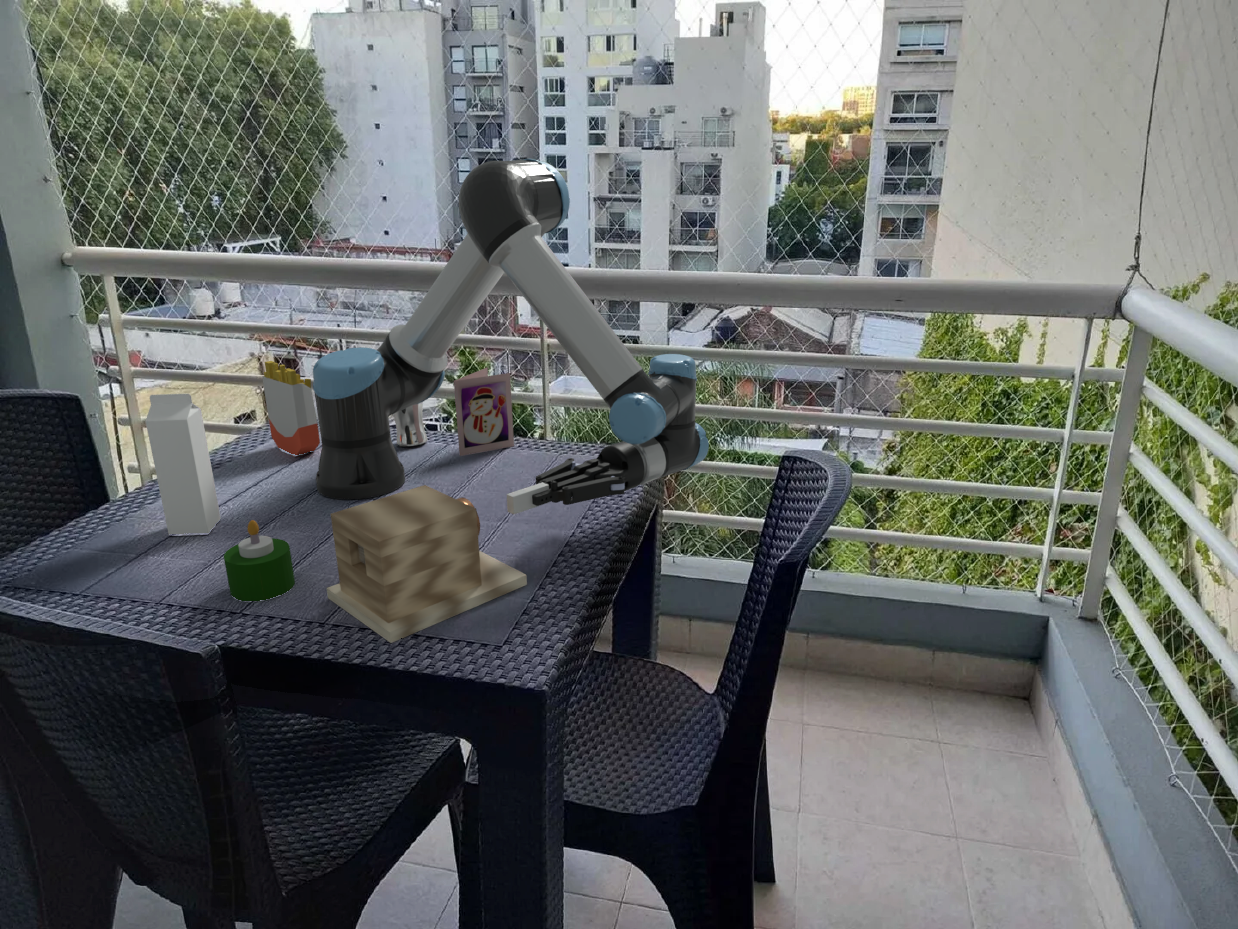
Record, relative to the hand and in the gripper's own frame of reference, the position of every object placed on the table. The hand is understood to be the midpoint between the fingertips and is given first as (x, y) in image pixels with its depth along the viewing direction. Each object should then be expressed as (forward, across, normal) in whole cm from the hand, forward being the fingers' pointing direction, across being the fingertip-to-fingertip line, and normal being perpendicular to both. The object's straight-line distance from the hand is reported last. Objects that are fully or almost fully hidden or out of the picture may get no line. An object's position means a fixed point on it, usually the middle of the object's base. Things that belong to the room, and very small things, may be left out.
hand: (510, 504), depth 124 cm
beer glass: (-18, +57, -9) cm, 60 cm away
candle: (+29, +18, -9) cm, 35 cm away
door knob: (+15, +1, -3) cm, 15 cm away
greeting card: (-26, +45, -9) cm, 53 cm away
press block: (+14, +1, -9) cm, 16 cm away
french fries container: (+1, +69, -9) cm, 70 cm away
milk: (+29, +44, -9) cm, 54 cm away
